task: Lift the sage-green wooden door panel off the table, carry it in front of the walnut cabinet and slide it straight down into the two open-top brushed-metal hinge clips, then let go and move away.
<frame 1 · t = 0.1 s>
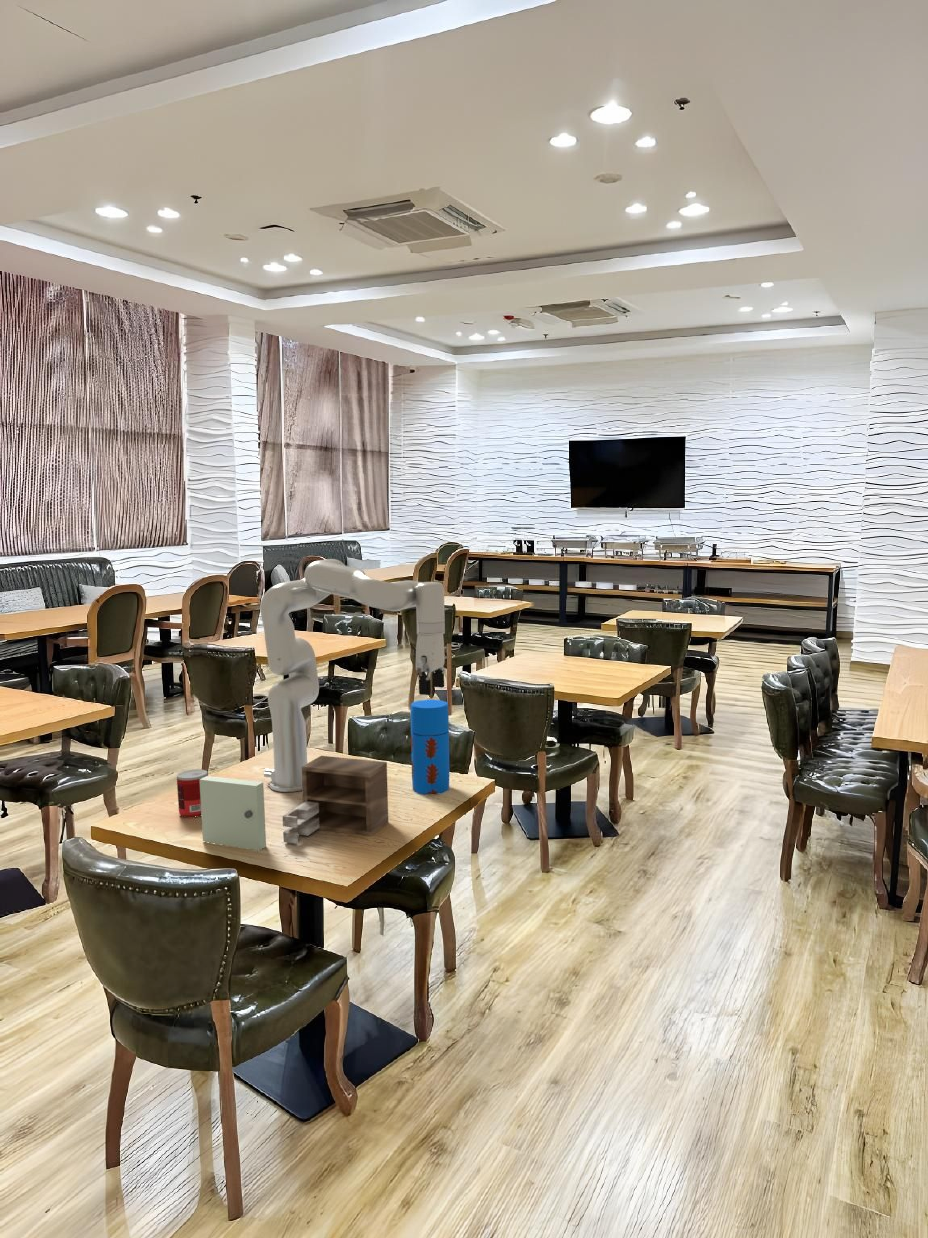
hand: (431, 690, 235), 31 cm above the table, tool pointing down, fingers open, 9 cm apart
thermos: (431, 789, 250), on the table
cabinet: (346, 824, 223), on the table
door: (234, 844, 211), on the table
canned food: (194, 813, 233), on the table
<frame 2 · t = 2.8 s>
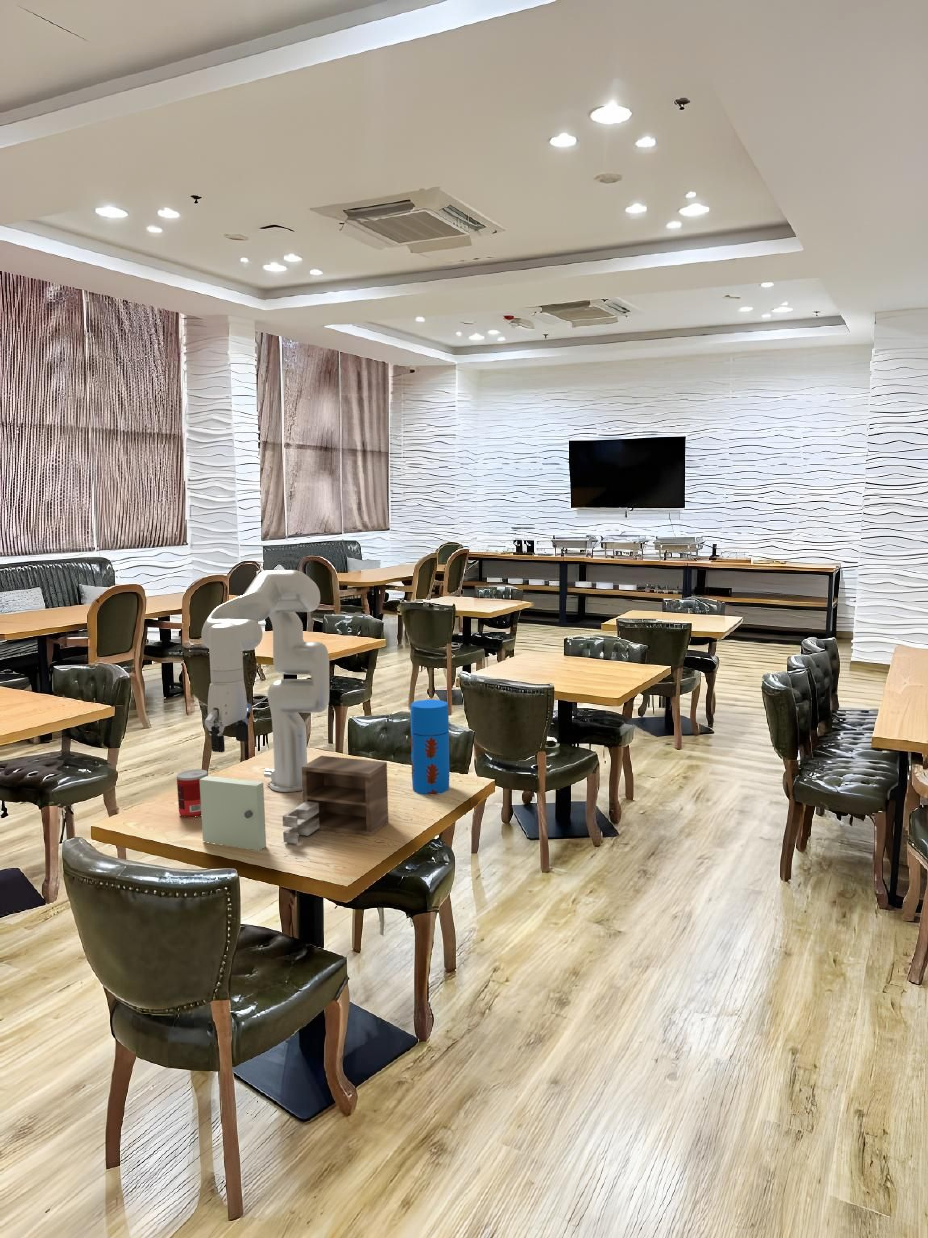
hand: (230, 746, 208), 24 cm above the table, tool pointing down, fingers open, 9 cm apart
nothing on the table moved.
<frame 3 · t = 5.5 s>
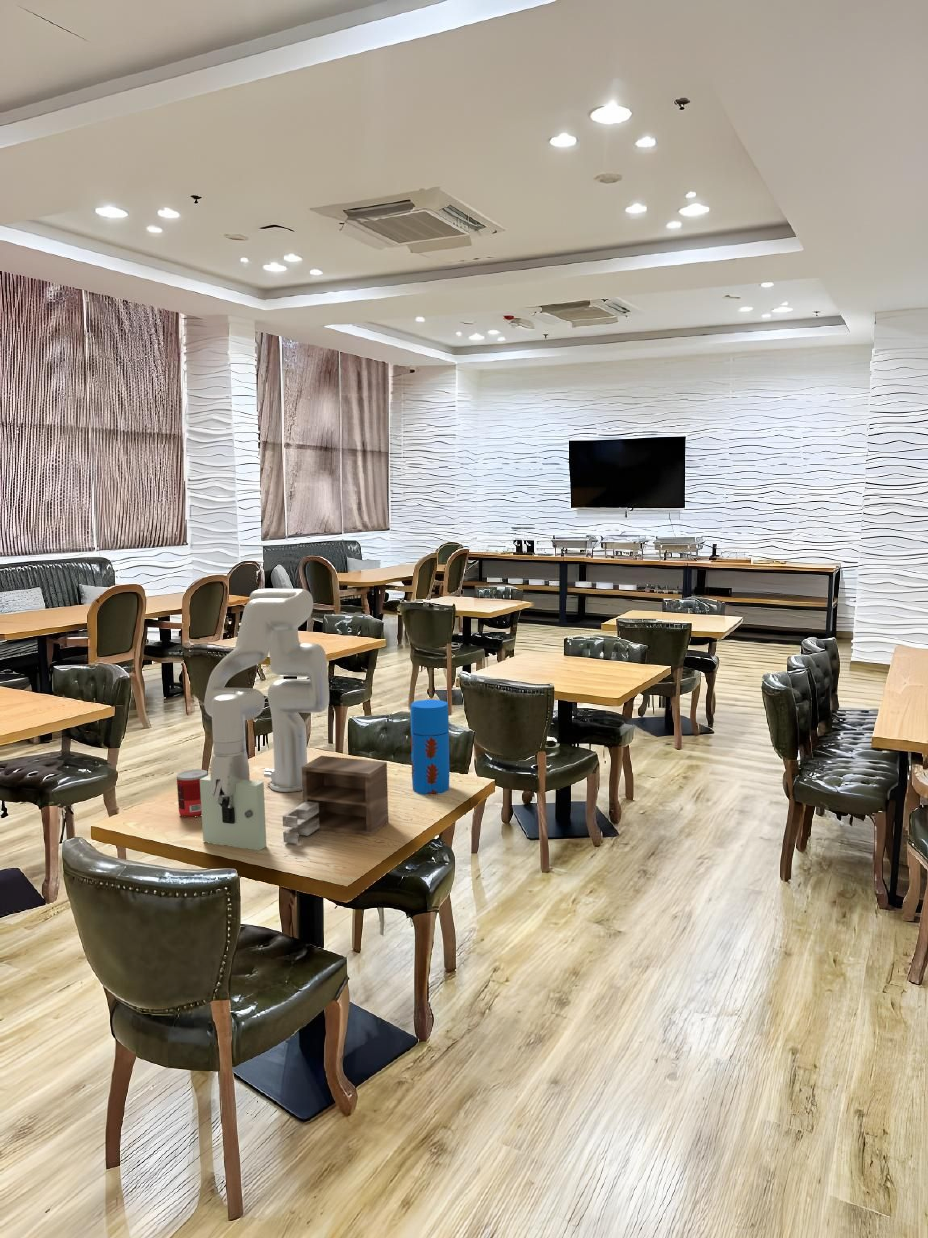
hand: (233, 819, 210), 6 cm above the table, tool pointing down, fingers closed on door, 3 cm apart
door: (234, 844, 211), on the table, touching gripper
everything else where it was.
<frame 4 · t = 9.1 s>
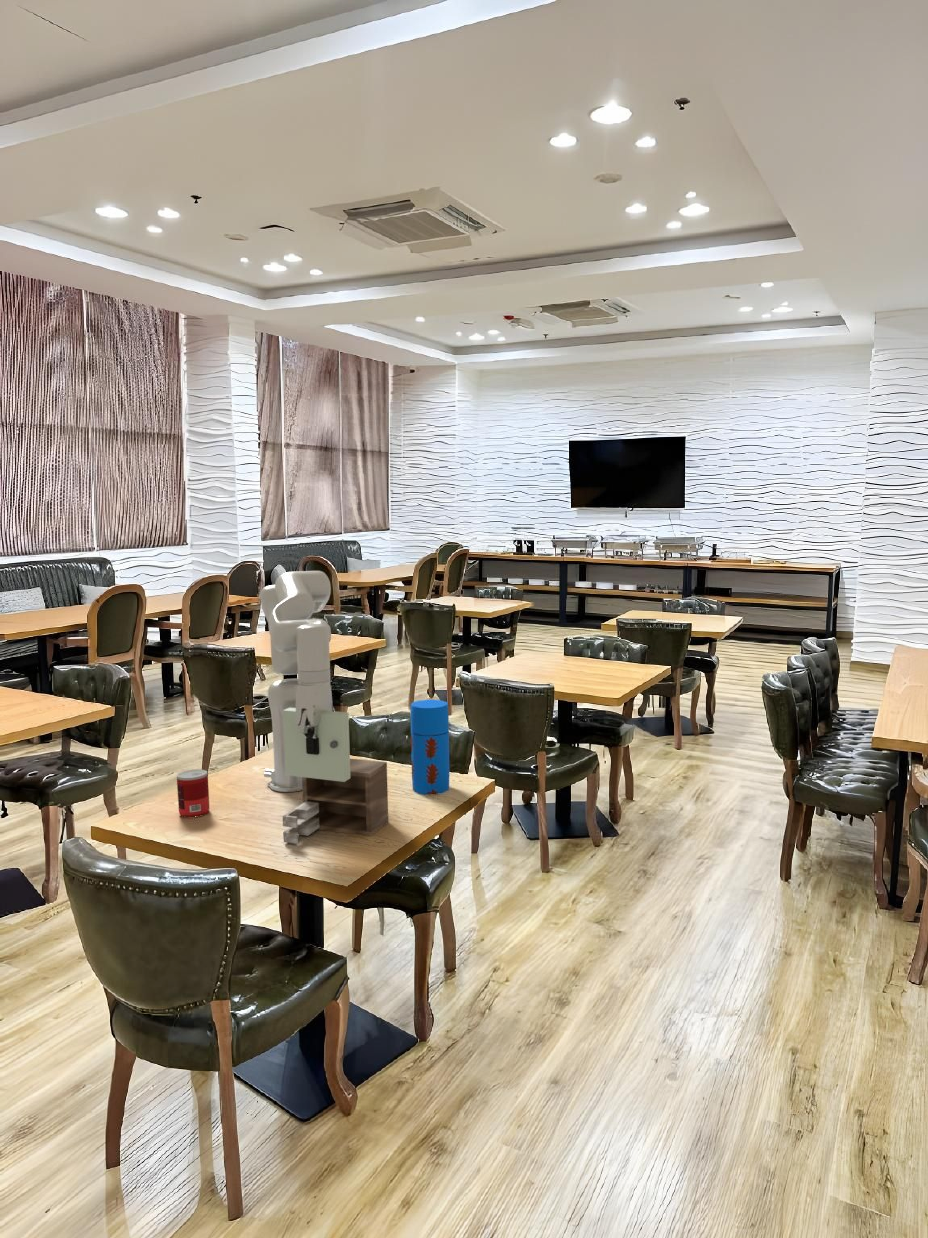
hand: (316, 751, 207), 23 cm above the table, tool pointing down, fingers closed on door, 3 cm apart
door: (317, 776, 208), point 17 cm above the table, touching gripper
everything else where it was.
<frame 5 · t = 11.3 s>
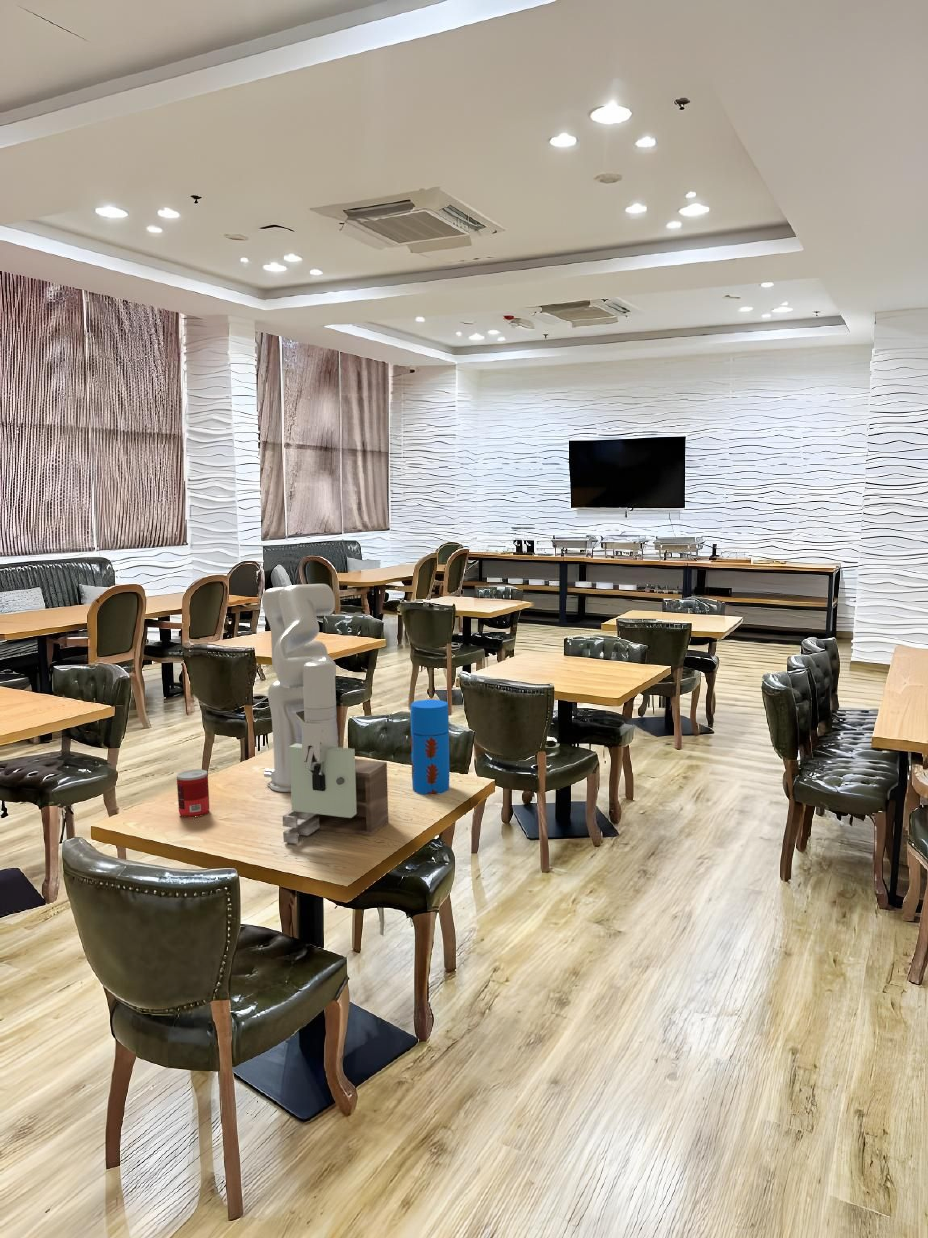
hand: (322, 787, 208), 14 cm above the table, tool pointing down, fingers closed on door, 3 cm apart
door: (323, 812, 209), point 8 cm above the table, touching gripper
everything else where it was.
when the fingers open (7 cm above the table, at t = 13.0 s): door stays where it is, on the table.
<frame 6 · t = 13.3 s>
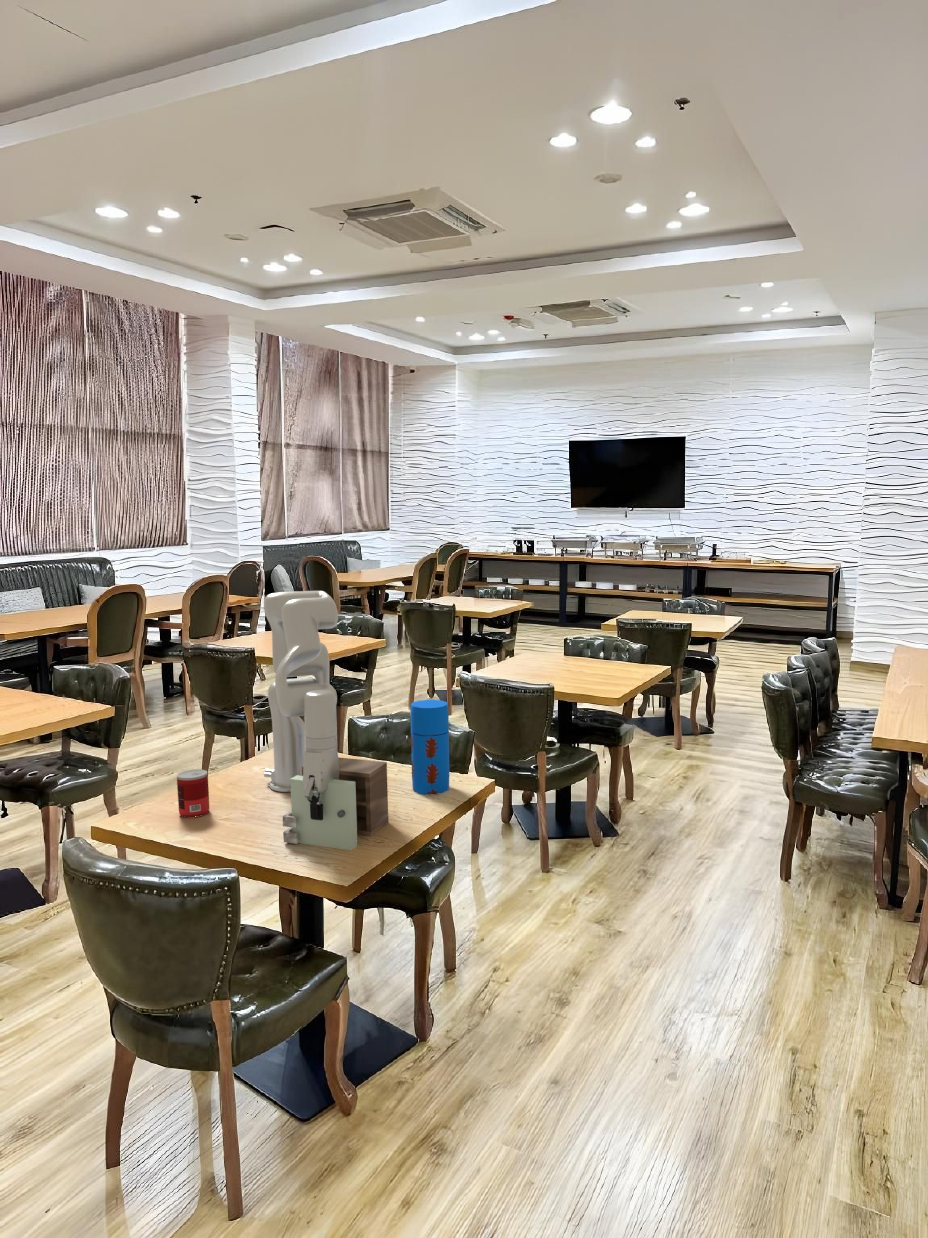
hand: (323, 814, 209), 8 cm above the table, tool pointing down, fingers open, 6 cm apart
door: (324, 844, 211), on the table
everything else where it was.
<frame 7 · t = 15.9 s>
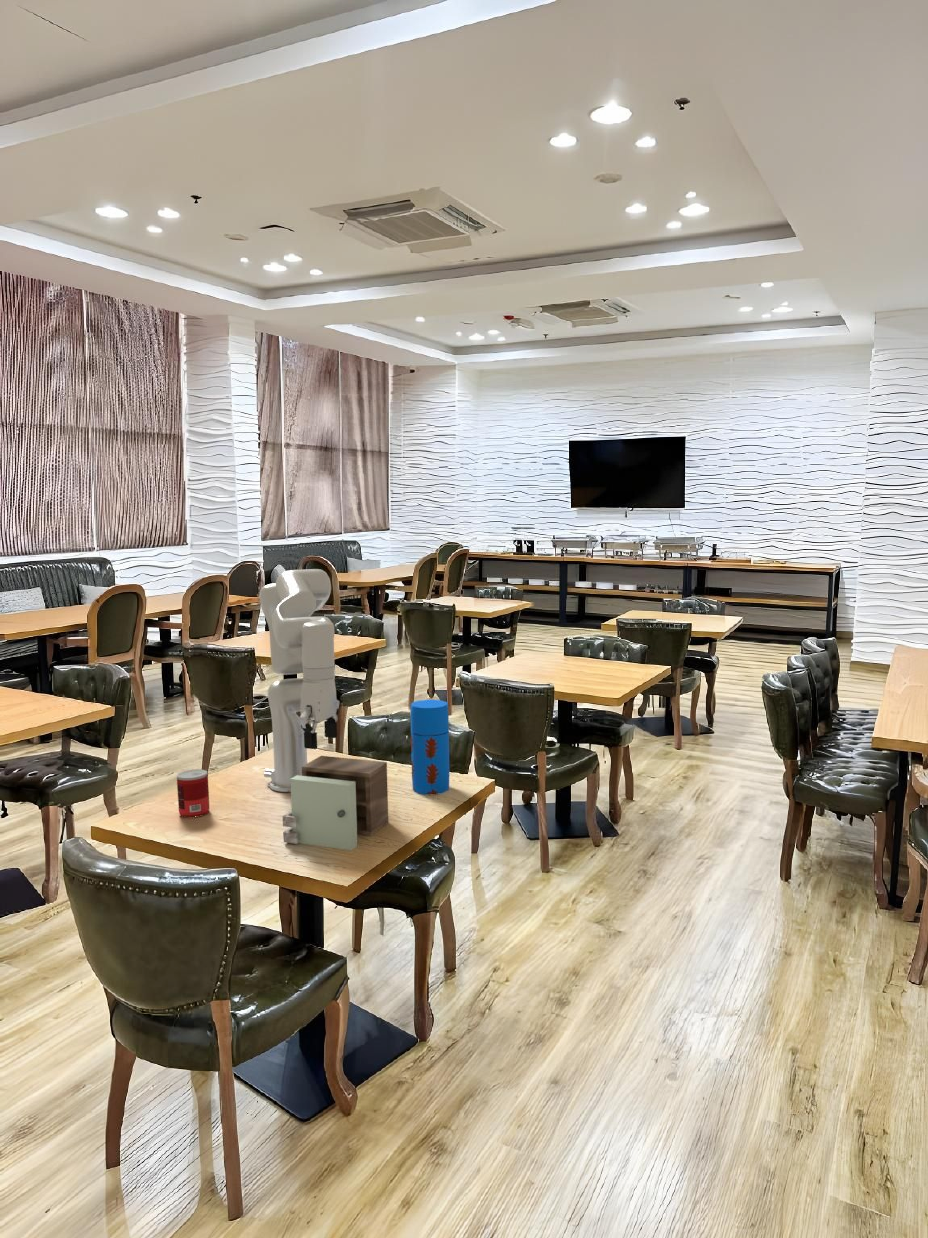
hand: (321, 742, 210), 25 cm above the table, tool pointing down, fingers open, 9 cm apart
nothing on the table moved.
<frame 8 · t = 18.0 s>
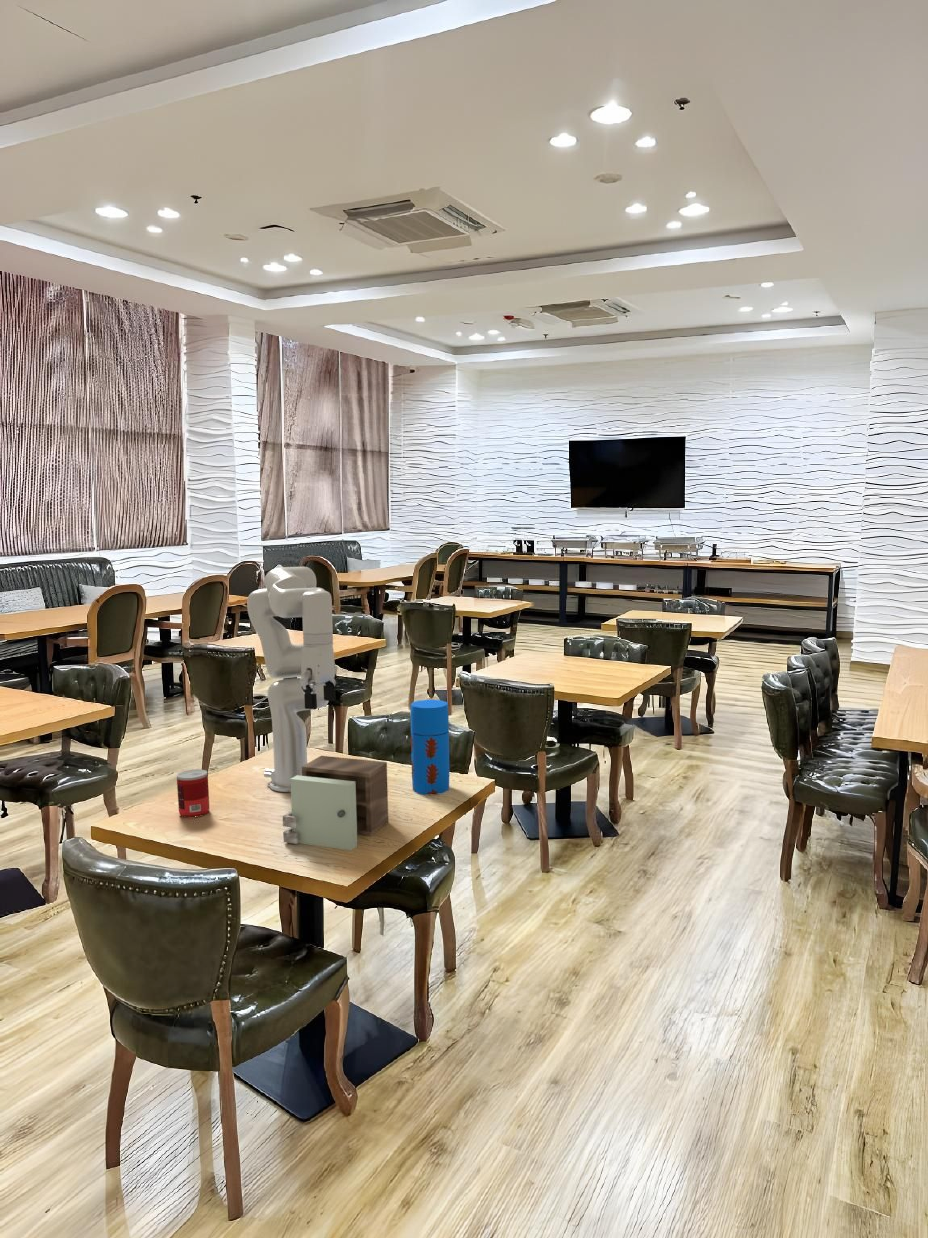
hand: (320, 704, 224), 30 cm above the table, tool pointing down, fingers open, 9 cm apart
nothing on the table moved.
at the end: door 0.6 cm from the target spot on the cabinet, point 0.0 cm above the cabinet's base; door tilted 0°; the gripper is holding nothing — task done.
